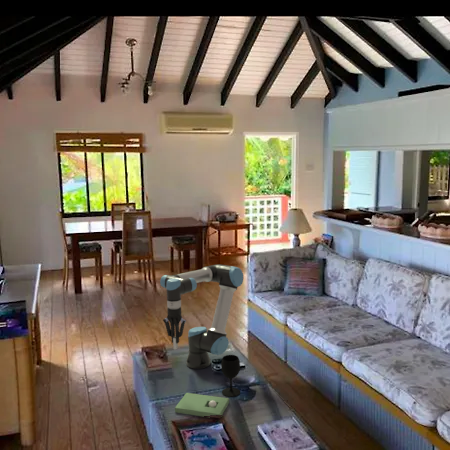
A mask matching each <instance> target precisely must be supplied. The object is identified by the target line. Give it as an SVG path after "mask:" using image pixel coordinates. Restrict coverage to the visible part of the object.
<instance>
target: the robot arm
mask: <svg viewBox="0 0 450 450" xmlns="http://www.w3.org/2000/svg"><path fill="white" fill-rule="evenodd" d="M159 282H160V286H161V287H162V288H164V289H166V303H167V304H166V307H167V308H166V309H167V311H166V313H167V316H166V317H165V318H164V319H163V320H162V321H163V323H164V324H165V329H166V331H167V332H166V333H167V336H168V337H170V338H171V343H172V345H173V346H172V347H173V350H177V349H178V347H179V343H180V338H181V337H182V336H183V334H184V328H185V324H186V322H187V319H184V318H183V316H182V295H184V294H188V293H191V292H193V291H195V290H196V289H197V286H198V285H197V284H199V283H203V282H205V283H208V282H209V283H210V282H211V283H212V282H213V283H218V287H219V294H218V298H217V302H216V306H215V309H214V310H215V311H214V314H213V318H212V323H211V326H210V328H207V327H206V326H195V327H193V328H190V329H189V330H188V331H187V332H188V333H187V334H188V336H187V340H188V343H187V344H188V354H187V357H186V361H185V363H186V366H187V367H188V368H191V369H196V370H198V369H199V370H200V369H205V368H207V367H209V366H210V365H211V357H210V355H209V354H211V355H215V356H216V355H217V356H221V355H223V354H224V353H225V352H226V351H227V349H228V347H229V343H230V342H229V339H228V337H227V334H228V333H227V331H226V328H227V324H228V319H229V314H230V310H231V307H232V302H233V297H234V294H235V292H236V291H237V290H238V287H241V286H242V284H243V282H244V273H243V270H242V269H241V268H240V267H237V266H233V265H228V264H227V265H226V264H213V265H212V264H211V265H208V266H204V267H202V268H201V269H197V270H191V271H186V272H183V273H178V274H173V275H169V274H165V275H162V276H161V278H160V280H159Z"/></svg>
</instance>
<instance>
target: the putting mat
mask: <svg viewBox="0 0 450 450" xmlns="http://www.w3.org/2000/svg"><path fill="white" fill-rule="evenodd" d="M212 400H214V401H215V402H216V404H217V405H216V407H215V408H212V407H209V402H210V401H212ZM229 404H230V397H227V398H226V397H221V396H215V395H213V396H212V395H207V394H206V395H205V394H198V393H191V392H186V393H185V394H184V395H183V397H182V398H181V399H180V401H179V402H178V403H177V404H176V406H175V407H174V413H178V414H183V415H190V416H191V415H192V416H197V417H204V416H210V415H222V416H223V415H224V413H225V411H226V409H227V408H228V405H229Z"/></svg>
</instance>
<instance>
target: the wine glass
mask: <svg viewBox="0 0 450 450" xmlns="http://www.w3.org/2000/svg"><path fill="white" fill-rule="evenodd" d="M220 367H221V368H220V369H221V372H222V374H223V376H224V377H225V378H227V379H229V387H225V388H224V389H222V390H221V394H222V395H223V396H224V397H225V398H226V397H227V398H235V397H238V396H240V395H241V390H240V389H239V388H237V387H234V386H233V379H234V378H236V377H237V376H238V375H239V373H240V371H241V362H240V358H239V356H238V355H235V354H226V355H224V356H223V357H222V359H221V364H220Z"/></svg>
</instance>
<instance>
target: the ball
mask: <svg viewBox="0 0 450 450" xmlns="http://www.w3.org/2000/svg"><path fill="white" fill-rule="evenodd" d="M216 405H217V404H216V402H215V401H214V400H212V401H210V402H209V407H212V408H215V407H216Z"/></svg>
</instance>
